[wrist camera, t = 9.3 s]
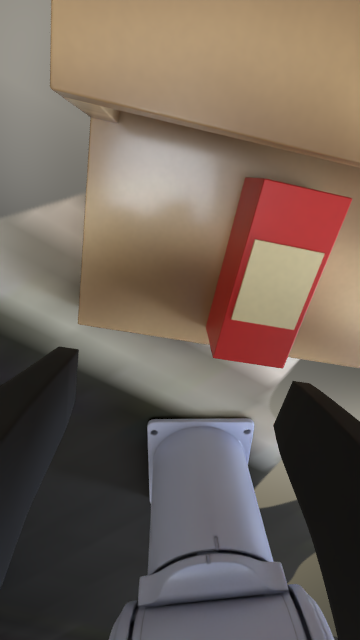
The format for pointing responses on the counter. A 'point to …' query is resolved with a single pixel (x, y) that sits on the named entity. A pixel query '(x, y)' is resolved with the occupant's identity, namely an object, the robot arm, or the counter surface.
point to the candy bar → (271, 269)
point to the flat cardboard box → (208, 150)
